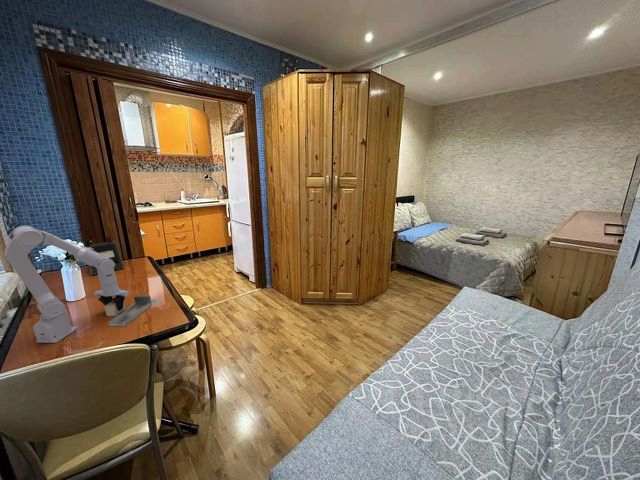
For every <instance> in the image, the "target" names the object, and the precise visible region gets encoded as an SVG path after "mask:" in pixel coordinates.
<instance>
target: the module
mask: <svg viewBox="0 0 640 480" xmlns="http://www.w3.org/2000/svg"><path fill="white" fill-rule="evenodd" d="M126 309H127V308H126V304H125V302H124V303H123V309H122V310H120V311H118V309H117V307H116V304H115V303H114V301H113V300H112V301H111V302H110V303H108V304H107V305H104V311H105V314H106V317H116V316H117V315H118V314H120V313H121V312H123V311H124V310H126Z"/></svg>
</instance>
